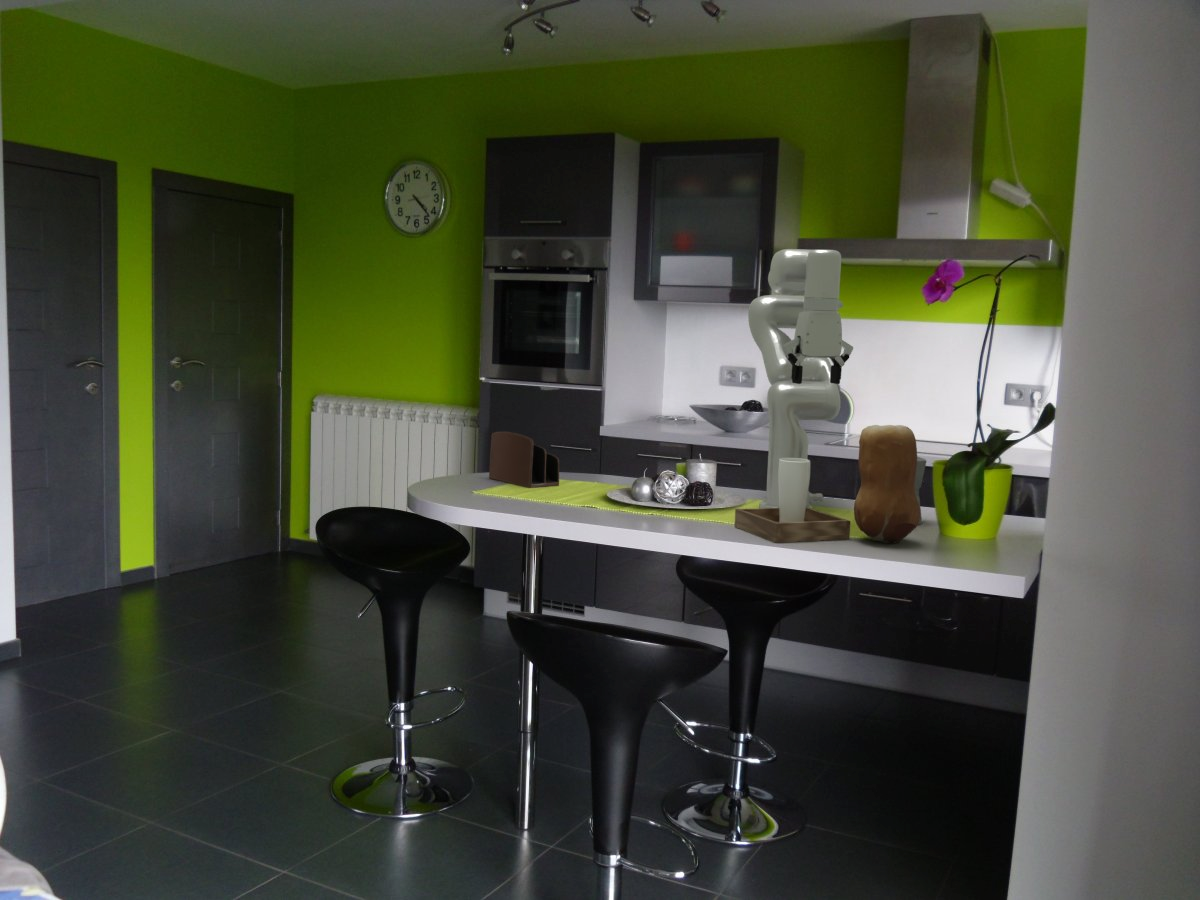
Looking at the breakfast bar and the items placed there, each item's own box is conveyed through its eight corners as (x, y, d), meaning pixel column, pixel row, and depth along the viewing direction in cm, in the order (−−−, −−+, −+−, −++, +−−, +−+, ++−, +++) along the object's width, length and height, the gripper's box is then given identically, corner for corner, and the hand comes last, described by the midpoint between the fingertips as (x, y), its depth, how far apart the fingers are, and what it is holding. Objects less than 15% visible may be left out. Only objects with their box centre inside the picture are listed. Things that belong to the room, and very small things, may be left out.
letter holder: (529, 489, 288) (531, 436, 286) (488, 479, 303) (489, 429, 302) (559, 486, 294) (561, 434, 293) (517, 477, 309) (519, 427, 308)
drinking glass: (807, 531, 232) (810, 462, 231) (775, 529, 234) (778, 460, 232) (807, 526, 239) (810, 458, 237) (776, 524, 240) (779, 457, 238)
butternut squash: (872, 533, 239) (879, 420, 236) (929, 543, 230) (937, 425, 227) (839, 540, 229) (846, 422, 226) (896, 551, 220) (904, 428, 217)
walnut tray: (804, 523, 248) (805, 506, 247) (849, 539, 231) (850, 520, 231) (734, 526, 241) (735, 509, 241) (775, 542, 225) (776, 523, 224)
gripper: (845, 307, 247) (840, 382, 249) (777, 304, 241) (773, 381, 243) (864, 307, 240) (858, 385, 242) (794, 305, 234) (790, 384, 236)
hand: (815, 383), depth 243 cm, fingers open, 9 cm apart
